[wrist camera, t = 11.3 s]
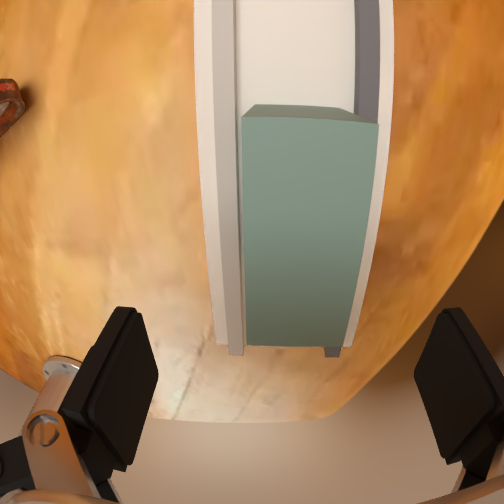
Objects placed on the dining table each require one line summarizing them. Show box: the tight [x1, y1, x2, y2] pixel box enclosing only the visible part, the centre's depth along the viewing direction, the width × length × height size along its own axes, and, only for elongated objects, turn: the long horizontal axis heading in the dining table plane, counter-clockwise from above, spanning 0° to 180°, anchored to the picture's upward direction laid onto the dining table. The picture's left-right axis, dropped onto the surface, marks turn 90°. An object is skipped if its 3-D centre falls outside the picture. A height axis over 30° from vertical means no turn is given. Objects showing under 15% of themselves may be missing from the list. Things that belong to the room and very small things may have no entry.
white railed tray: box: [194, 0, 394, 357], centre depth 20 cm, size 28×12×3 cm, turn 1°
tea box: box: [241, 104, 379, 347], centre depth 17 cm, size 5×11×8 cm, turn 1°
